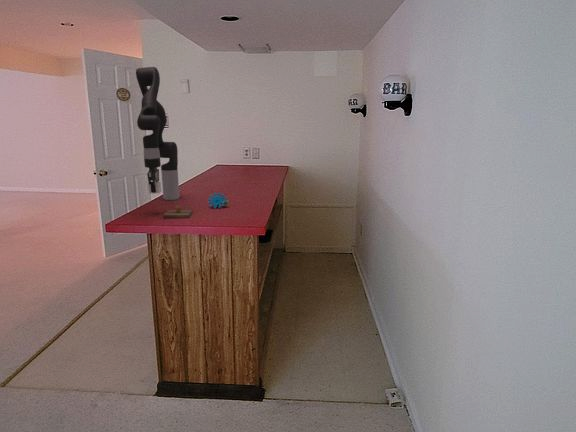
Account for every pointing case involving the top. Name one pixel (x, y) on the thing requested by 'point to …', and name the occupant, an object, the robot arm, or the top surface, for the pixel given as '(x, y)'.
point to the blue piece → (218, 200)
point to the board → (178, 213)
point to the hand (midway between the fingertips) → (154, 191)
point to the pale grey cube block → (158, 187)
